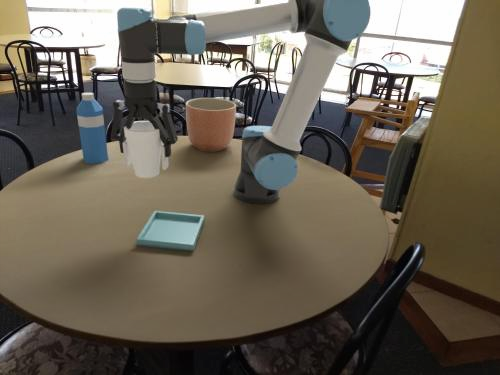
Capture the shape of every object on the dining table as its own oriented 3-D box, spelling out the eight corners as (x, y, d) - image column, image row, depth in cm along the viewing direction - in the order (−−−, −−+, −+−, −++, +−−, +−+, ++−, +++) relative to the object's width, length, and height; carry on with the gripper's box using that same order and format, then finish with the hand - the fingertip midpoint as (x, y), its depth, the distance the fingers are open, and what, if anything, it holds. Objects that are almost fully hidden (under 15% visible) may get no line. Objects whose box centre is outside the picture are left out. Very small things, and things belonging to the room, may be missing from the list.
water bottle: (103, 164, 139) (95, 97, 128) (78, 163, 139) (68, 95, 128) (112, 155, 148) (105, 91, 137) (88, 153, 148) (79, 90, 137)
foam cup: (155, 183, 95) (151, 134, 89) (122, 177, 97) (116, 129, 91) (170, 168, 103) (168, 123, 98) (140, 164, 105) (136, 119, 99)
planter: (179, 152, 155) (178, 107, 147) (194, 136, 174) (194, 95, 165) (228, 158, 153) (230, 112, 144) (238, 142, 171) (240, 100, 163)
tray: (204, 221, 108) (204, 215, 107) (193, 251, 95) (193, 244, 94) (155, 216, 109) (154, 210, 108) (137, 245, 96) (136, 239, 95)
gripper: (189, 80, 91) (191, 164, 102) (102, 73, 93) (113, 157, 103) (180, 86, 85) (183, 175, 95) (87, 79, 87) (100, 167, 97)
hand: (146, 165), depth 99 cm, fingers closed on foam cup, 9 cm apart
